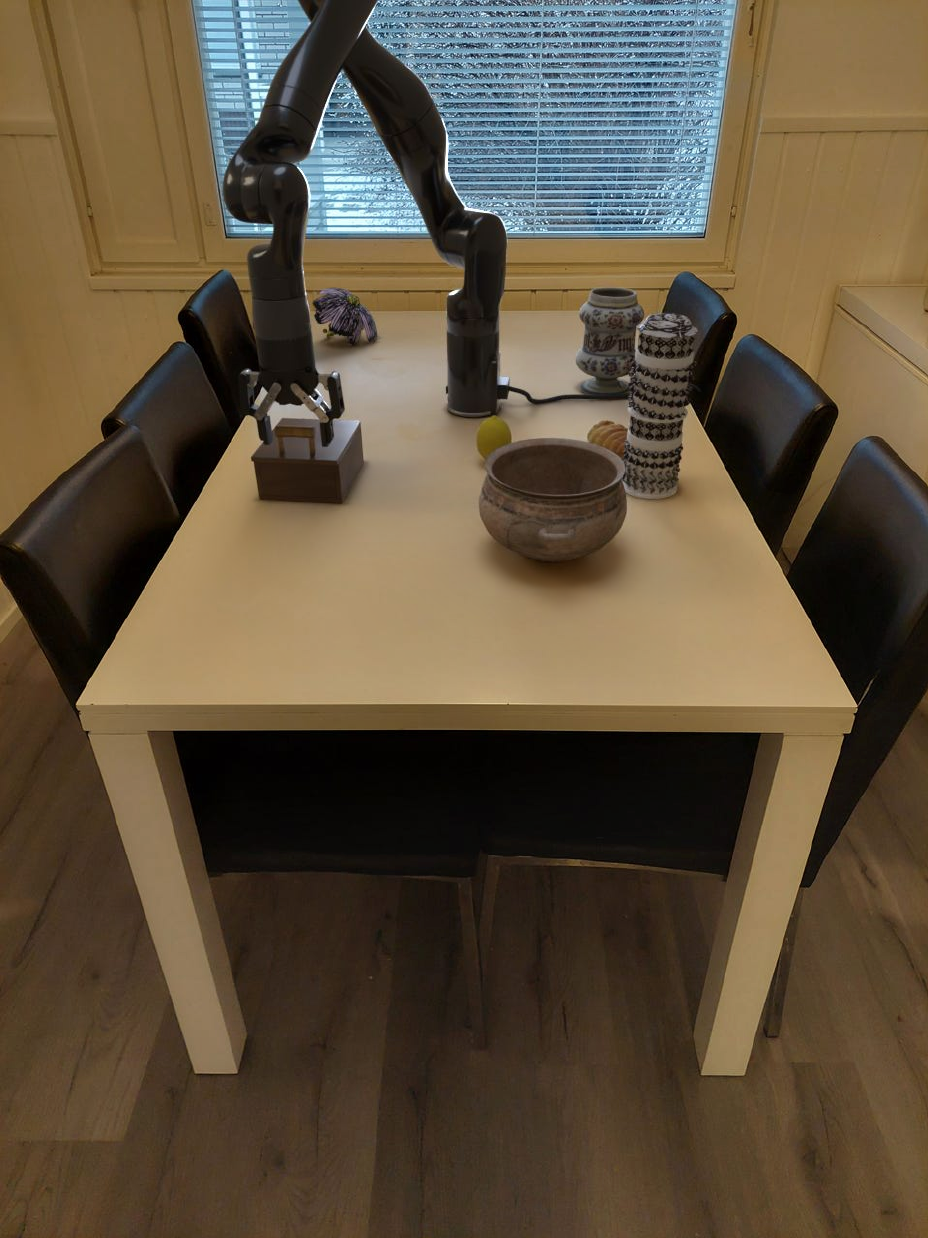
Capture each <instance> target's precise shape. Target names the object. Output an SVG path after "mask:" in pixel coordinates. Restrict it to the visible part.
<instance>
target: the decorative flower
mask: <svg viewBox="0 0 928 1238" xmlns="http://www.w3.org/2000/svg"><path fill="white" fill-rule="evenodd" d="M316 294H317V295H321V296H319V297H317V298H315V299H314V300H313V301H312V303H311V305H312V306H313V307H314V308H315V310H314V311H315V313H314V314H313V317H314V319H315V321H316V323H317V325H318V324H319V325H325V324H327V323H328V324H327V326H328V329H327V328H323V329H322V333H323V334H326V338H327V339H330V338H332V337H334V336H337V335H338V336H339V337H341V336H342V337H345V338H346V339H347V341H348V342H347V344H349V345H351V346H352V347H354V346H355V345H356V344H357V343H358V341H359V340H360V337H361V336H362V332H363V330H364V331H365V334H366V338H367V342H368V343H369V344H370V343H371V342H372V341H373V342H375V340H377V338H378V329H377V325H376V321H375V319H374V317H373V315H372V313H371V312H370V310H369V309H368V308H367V307H365V306H364V305H363V304H362V303H361V301H360V298H359V297H358V296H357V295H355V294H353V293H352V292H350V291H348V290H347V289H344V288H342V287H327V288H323V289H321V290H319V291H318V292H316ZM329 322H330V323H329Z"/></svg>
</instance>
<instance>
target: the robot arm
mask: <svg viewBox="0 0 928 1238" xmlns="http://www.w3.org/2000/svg"><path fill="white" fill-rule="evenodd" d="M297 2H298V4H299V5H300V7H301V9H302V11H303V12H304V14H305V16H306V17H307V19H308V20H309V22H310V24H309V25H308V26H307V28H306V29H305V30H304V32H303V34H302V35H301V36H300V37H299V39H298V40H297V41H296V43H295V44H294V45H293V47H292V48H291V49H290V51H289V52H288V53H287V54H286V56H285V58H284V59H283V60H282V62H281V63H280V64H279V67H278V68H277V70H276V72H275V74H274V76H273V78H272V80H271V83H270V84H269V88H268V91H267V93H266V97H265V99H264V103H263V104H262V105H263V106H262V109H261V111H260V114H259V118H258V120H257V122H256V124H255V125H254V126H253V127H252V129H251V130H250V131H249V132H248V134H247V135H246V137H245V138H244V140H243V141H242V142H241V144H240V145H239V147H238V148H237V150H236V151H235V152H234V154H233V155H232V157H231V159H230V160H229V162H228V164H227V167H226V169H225V171H224V175H223V179H222V197H223V202H224V205H225V207H226V210H227V212H228V213H229V214H230V216H231V217H233V218H234V219H235V220H237V221H239V222H242V223H245V224H256V225H268V226H272V236H271V240H270V241H269V242H264V243H261V244H257V245H254V246H252V247H251V248H249V250H248V252H247V254H246V265H247V267H246V268H247V274H248V281H249V289H250V295H251V315H252V316H251V317H252V329H253V331H254V338H255V345H256V350H257V351H256V352H257V359H258V365H259V371H252V370H251V369H250V368H248V367H247V368H244V369H243V370H242V371H241V372H240V373H239V374H238V375H237V383H238V394H239V403H240V413H241V414H242V415H243V416H246V417H248V416H250V417H252V418H254V419H255V420H256V428H257V433H258V438H259V440H260V441H261V442H262V443H264V445H270V444H271V442H272V441H273V436H272V430H273V428H272V422H271V416H270V415H268V412H269V411H270V410H271V408H272V406H273V405H274V404H275V403H277V404H278V405H279V406H286V405H287V406H288V405H292V406H300V407H301V406H302V405H305V407H306V408H307V409H308V410H309V411H310V412H311V413H313V414H315V416H316V417H317V419H320V420H321V422H320V432H321V441H322V447H328V446H329V444H330V443H331V442H332V440H333V438H334V430H333V420H340V418H341V417H342V415H343V414H344V413H345V410H346V408H345V407H346V406H345V401H344V393H343V387H342V380H341V374H340V372H339V371H338V370H333V371H332V372H330V373H319V372H318V369H317V366H316V356H315V346H314V337H313V328H312V327H313V326H312V317H311V310H310V305H309V300H308V297H307V290H306V280H305V270H304V269H305V268H304V251H305V246H306V245H305V243H306V235H307V229H308V222H309V215H310V211H311V190H310V186H309V183H308V180H307V178H306V176H305V174H304V173H303V171H302V170H301V169H300V168H299V166H297V165H296V164H297V163H300V162H303V161H304V160H306V159H307V158H308V157H309V156H310V154H311V153H312V151H313V149H314V145H315V142H316V139H317V136H318V133H319V131H320V127H321V124H322V121H323V118H324V115H325V111H326V108H327V106H328V103H329V101H330V98H331V95H332V92H333V90H334V88H335V85H336V83H337V81H338V78H339V76H340V74H341V73H342V72H343V73H344V75H345V76H346V78H347V80H348V82H349V83H350V85H351V87H352V89H353V90H354V92H355V93H356V95H357V98H358V99H359V100H360V103H361V104H362V107H364V109H365V111H366V113H367V115H368V117H369V119H370V121H371V123H372V125H373V127H374V129H375V131H376V132H377V135H378V136H379V137H378V138H380V140H381V142H382V144H383V146H384V148H385V149H386V151H387V153H388V155H389V156H390V158H391V159H392V161H393V163H394V165H395V166H396V168H397V170H398V172H399V174H400V176H401V178H402V180H403V181H404V184H405V185H406V187H407V189H408V191H409V193H410V194H411V197H412V198H413V200H414V202H415V205H416V206H417V209H418V210H419V213H420V215H421V218H422V220H423V223H424V225H425V227H426V230H427V233H428V235H429V237H430V239H431V240H430V241H431V242H432V244H433V247H434V249H435V251H436V253H437V254H438V256H439V257H440V258H441V260H442V261H443V262H445V264H447V265H449V266H450V267H453V268H457V269H461V270H464V272H463V273H464V274H463V285H462V287H461V288H459V289H455V290H453V291H451V292H449V293H448V294H447V296H446V298H445V318H446V320H445V322H446V323H445V326H446V375H447V377H446V378H447V383H446V384H447V385H446V386H445V395H446V396H447V404H446V405H447V407H446V408H447V411H448V412H449V413H451V414H453V415H456V416H460V417H465V418H466V417H468V418H480V417H486V416H494V415H495V416H497V415H498V412H499V409H500V404H501V400H508V398H509V394H510V392H512V393H515V394H519V395H521V396H524V397H525V398H526V400H527V401H528V402H529V403H531V404H534V405H542V404H551V403H555V402H558V401H563V400H616V399H628V397H629V396H630V393H631V392H630V393H622V394H585V393H581V394H580V393H577V394H576V393H575V394H574V393H573V394H572V393H570V394H569V393H568V394H560V395H555V396H551V397H547V398H539V399H538V398H533V397H532V395H531V394H530V393H529V392H528V391H526V390H524V389H522V388H519V387H514V386H510V378H511V377H510V376H501V352H500V329H501V327H500V326H501V325H500V323H501V322H500V321H501V302H502V299H503V296H504V293H505V287H506V274H507V260H508V259H507V257H508V234H507V229H506V225H505V223H504V221H503V219H502V218H501V217H500V216H499V215H497V214H496V213H493V212H490V211H486V210H485V211H484V210H480V209H474V208H468V207H467V206H466V205H465V204H464V203H463V201H462V200H461V198H460V197H459V195H458V193H457V191H456V189H455V187H454V185H453V183H452V181H451V178H450V175H449V171H448V156H449V155H448V154H449V140H448V139H449V138H448V132H447V128H446V125H445V122H444V119H443V118H442V115H441V114H440V111H439V109H438V107H437V105H436V103H435V101H434V99H433V97H432V94H431V92H430V91H429V89H428V87H427V86H426V84H425V83H424V82H423V80H422V79H421V78H420V77H419V76H418V75H417V74H416V73H415V72H414V71H413V70H412V69H411V68H409V67H408V66H407V65H406V64H405V63H404V62H402V61H401V59H398V57H396V56H395V55H394V54H392V53H391V52H390V51H389V50H388V49H386V48H385V46H383V45H382V44H381V43H380V42H379V41H378V40H377V39H376V38H375V37H374V35H372V33H371V32H370V31H369V29H368V28H367V26H366V24H367V22H368V20H369V18H370V17H371V15H372V14H373V12H374V9H375V8H376V6H377V4H378V2H379V0H297ZM257 383H259V384H260V386H261V387H262V388H263V389H264V391H265V392H266V394H265V396H264V398H263V399H262V400H261V402H260V404H259V405H257V404H256V403H255V390H254V388H255V386H256V385H257ZM319 384H321V385H322V386H323V388H324V390H325V391H328V397H329V402H330V407H329V405H328V403H327V402H325V400H324V397H323V396H322V395H321V393H320V392H319V390H317V387H318V386H319ZM687 385H689V386H690V387H691V388H693V392H696V393H700V392H701V389H700V388H699V386H697V385H695V384H694V383H691V382H688V384H687Z"/></svg>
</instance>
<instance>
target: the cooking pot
mask: <svg viewBox="0 0 928 1238" xmlns="http://www.w3.org/2000/svg"><path fill="white" fill-rule="evenodd" d="M623 461H624V460H623V459H620V457H619V456H617V455H616V454H615V453H613V452H612V451H610V450H608V449H606V448H604V447H601V446H598V445H596V444H592V443H589V441H584V440H578V439H572V438H564V437H563V438H561V437H560V438H559V437H537V438H529V439H524V440H523V439H522V440H517V441H514V442H512V443H510V444H507V445H504V446H502V447H500V448H498V449H496V450H494V451H493V452H492V453H491V454H489V456H488V457H487V458H486V460H485V461H484V470H485V472H486V475H485V476H484V480H483V483H482V486H481V489H480V493H479V496H478V510H479V517H480V519H481V521H482V524H483V525H484V527H485V530H486V531H487V532H488V534H489V535H490V536H491V537H492V538H493V539H494V541H495V542H497V543H498V544H499V545H501V546H502V547H504V548H505V549H507V550H509V551H511V552H512V553H514V554H517V555H520V556H522V557H525V558H527V559H531V560H534V561H537V562H541V563H549V564H557V563H563V562H566V561H570V560H574V559H580V558H582V557H585V556H588V555H591V554H593V553H595V552H598V551H600V550H601V549H602V548H604V547H606V546H607V545H608V544H609V543H611V542H612V540H613V539H614V538H615V537H616V536H617V534H618V533H619V532H620V530H621V529H622V527H623V525H624V523H625V520H626V517H627V511H628V498H627V493H626V492H625V488H624V485H623V482H622V477H623V475H624V473H625V465H624V463H623Z"/></svg>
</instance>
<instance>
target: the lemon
mask: <svg viewBox="0 0 928 1238" xmlns="http://www.w3.org/2000/svg"><path fill="white" fill-rule="evenodd" d="M476 432H477V433H476V439H475V440H476V441H475V442H476V449H477V451H478V454H479V455H480V456H481V457H482V458H483V459H484V460H485V461H486V458H487V457H488V456H489V454H491V453H492V452H493V451H494V450H496V449H498V448H500V447H502V446H504V445H507V444H510V443H513V442H512V441H513V437H512V431H511V427H510V426H509V424H508V423H507V421H506V420H504V419H502V417H498V416H497V415H491V417H488V418H486V419H484V420H483V421H482V422H481V423H480V424H479V427H478V429H477V431H476Z"/></svg>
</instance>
